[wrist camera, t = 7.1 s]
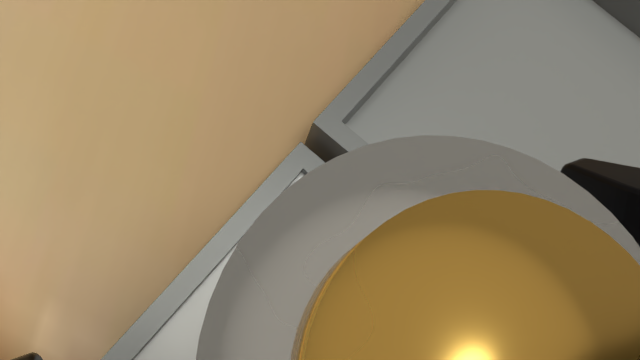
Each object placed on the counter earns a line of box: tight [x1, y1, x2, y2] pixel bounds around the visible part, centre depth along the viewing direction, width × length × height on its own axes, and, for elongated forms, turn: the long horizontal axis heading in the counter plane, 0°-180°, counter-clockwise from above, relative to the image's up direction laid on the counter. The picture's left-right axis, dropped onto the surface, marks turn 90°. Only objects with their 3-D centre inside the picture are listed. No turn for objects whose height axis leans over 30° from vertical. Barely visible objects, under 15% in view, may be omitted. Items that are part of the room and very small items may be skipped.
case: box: [305, 0, 640, 172], centre depth 20 cm, size 16×13×2 cm
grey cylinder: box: [196, 135, 640, 360], centre depth 10 cm, size 5×5×13 cm
